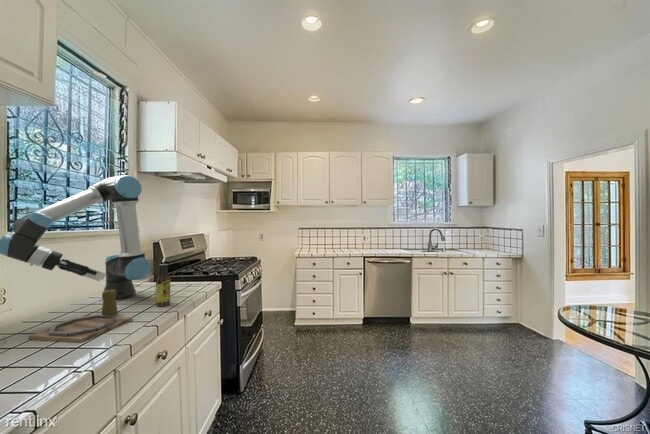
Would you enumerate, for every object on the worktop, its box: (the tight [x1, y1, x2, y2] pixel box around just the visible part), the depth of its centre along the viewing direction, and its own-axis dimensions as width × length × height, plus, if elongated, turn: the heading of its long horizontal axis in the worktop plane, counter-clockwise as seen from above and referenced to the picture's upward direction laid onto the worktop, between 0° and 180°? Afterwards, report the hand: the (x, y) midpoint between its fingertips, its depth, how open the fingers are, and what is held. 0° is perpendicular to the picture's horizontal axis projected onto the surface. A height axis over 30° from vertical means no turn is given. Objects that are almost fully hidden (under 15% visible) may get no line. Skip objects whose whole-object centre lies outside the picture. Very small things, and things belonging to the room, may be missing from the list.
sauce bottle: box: [155, 263, 171, 307], centre depth 145 cm, size 6×6×20 cm
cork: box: [100, 290, 119, 316], centre depth 131 cm, size 6×6×11 cm
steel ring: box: [49, 314, 116, 336], centre depth 114 cm, size 19×19×1 cm
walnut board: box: [27, 314, 133, 343], centre depth 114 cm, size 22×22×1 cm
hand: (102, 277), depth 134 cm, fingers open, 13 cm apart
